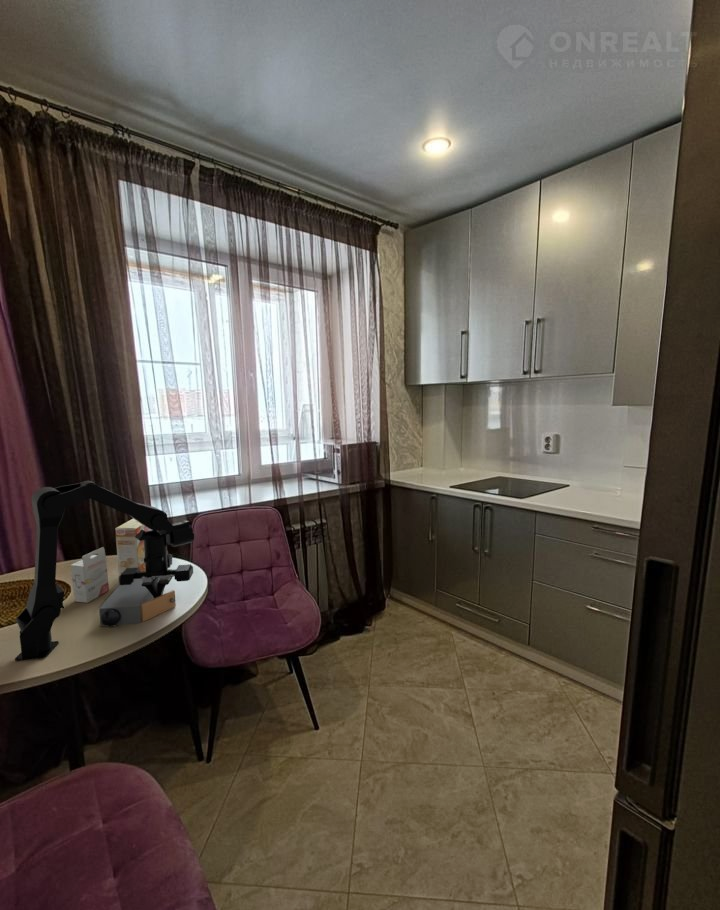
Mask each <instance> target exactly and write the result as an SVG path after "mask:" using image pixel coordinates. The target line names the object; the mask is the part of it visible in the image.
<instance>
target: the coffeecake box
mask: <svg viewBox="0 0 720 910" xmlns="http://www.w3.org/2000/svg"><path fill="white" fill-rule="evenodd" d="M114 529H115V543H116V544H115V545H116V555H117V558H116V559H117V571H118V577H119V576H120V575H121V574H122V573H123V572H124V570H125V569H126V568H140V572H143V571H146V567H145V562H144V558H145V552H144V540H142V541H140V540H138V539H137V538H135V536H136V535H137V534H138V533H139V532H140V530H144V531H145V532H146V531H151V529H149V528H148V527H146V526H144V525H142V524H141V523H140V522H138V521H137V520H135V519H134V518H132V519H130V520H128V521H126V522H124V523H122V524H121V525H119V526H117V527H115V528H114ZM157 531H159V530H157Z"/></svg>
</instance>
